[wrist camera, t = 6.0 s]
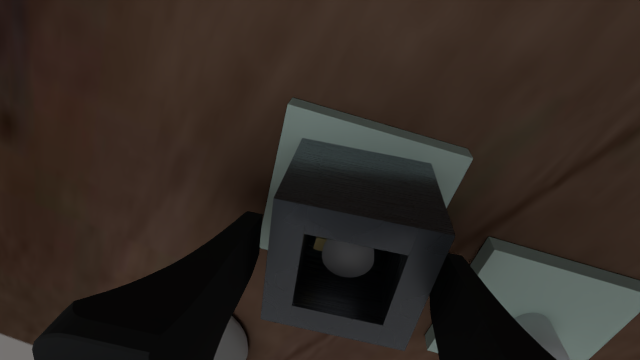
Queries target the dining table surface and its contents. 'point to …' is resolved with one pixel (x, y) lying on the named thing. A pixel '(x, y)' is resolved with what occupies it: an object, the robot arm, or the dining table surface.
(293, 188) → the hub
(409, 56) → the dining table surface
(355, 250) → the square peg base
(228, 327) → the milk bottle
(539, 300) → the square peg board
